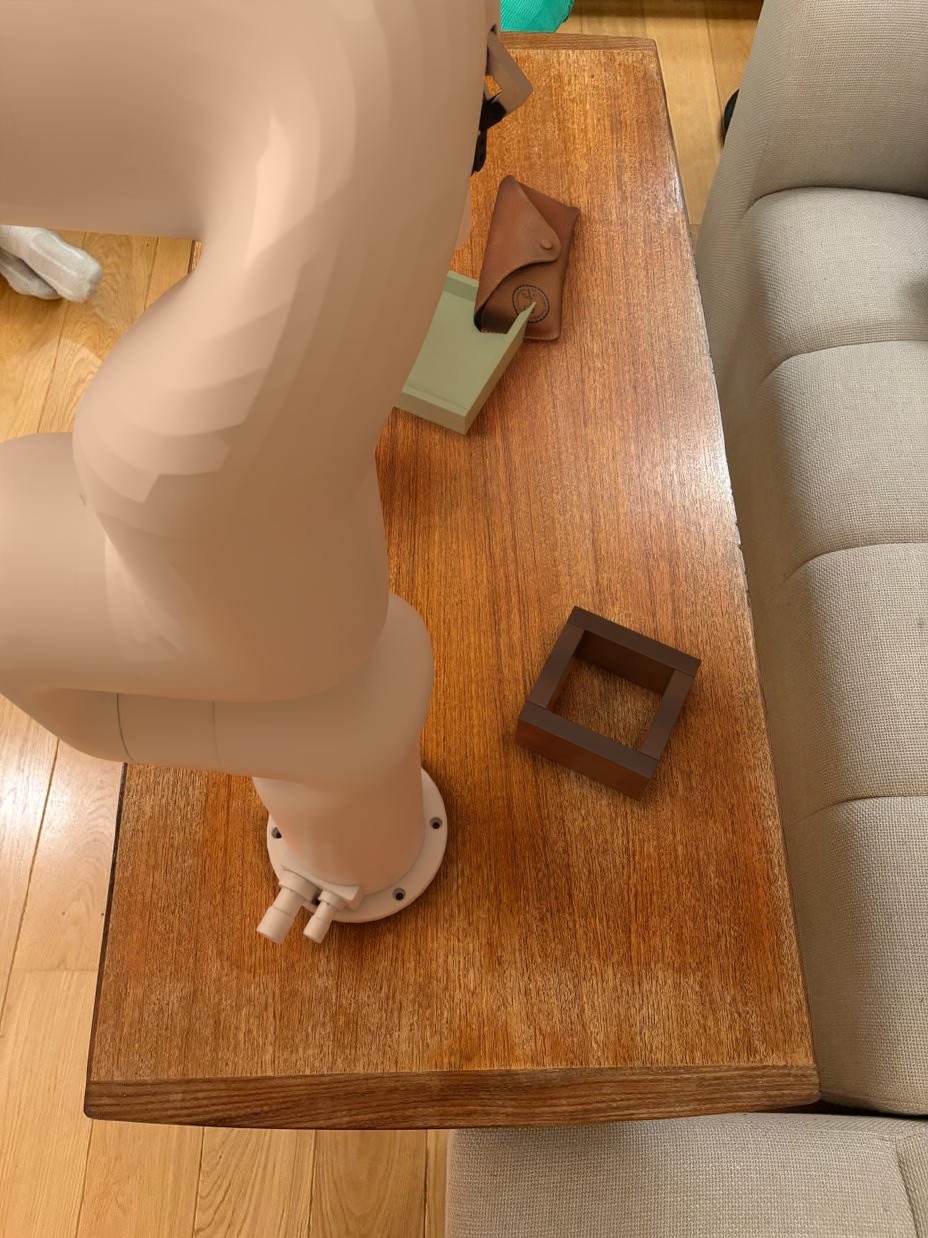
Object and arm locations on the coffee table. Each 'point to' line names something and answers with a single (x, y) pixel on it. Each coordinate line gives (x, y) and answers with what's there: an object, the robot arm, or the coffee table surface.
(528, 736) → the frame
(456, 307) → the tray
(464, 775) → the coffee table surface
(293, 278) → the robot arm
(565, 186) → the coffee table surface
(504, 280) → the sunglasses case
